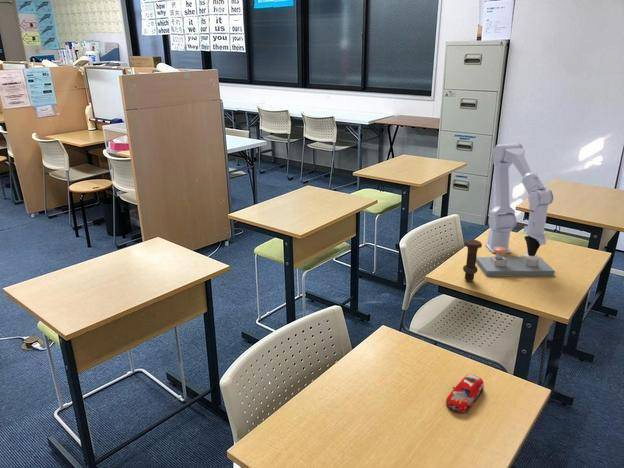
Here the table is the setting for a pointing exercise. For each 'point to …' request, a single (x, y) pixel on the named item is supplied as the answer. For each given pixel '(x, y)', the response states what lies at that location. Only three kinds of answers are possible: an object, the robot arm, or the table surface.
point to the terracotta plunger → (500, 252)
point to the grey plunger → (531, 257)
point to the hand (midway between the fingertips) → (531, 255)
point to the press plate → (514, 266)
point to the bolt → (471, 259)
